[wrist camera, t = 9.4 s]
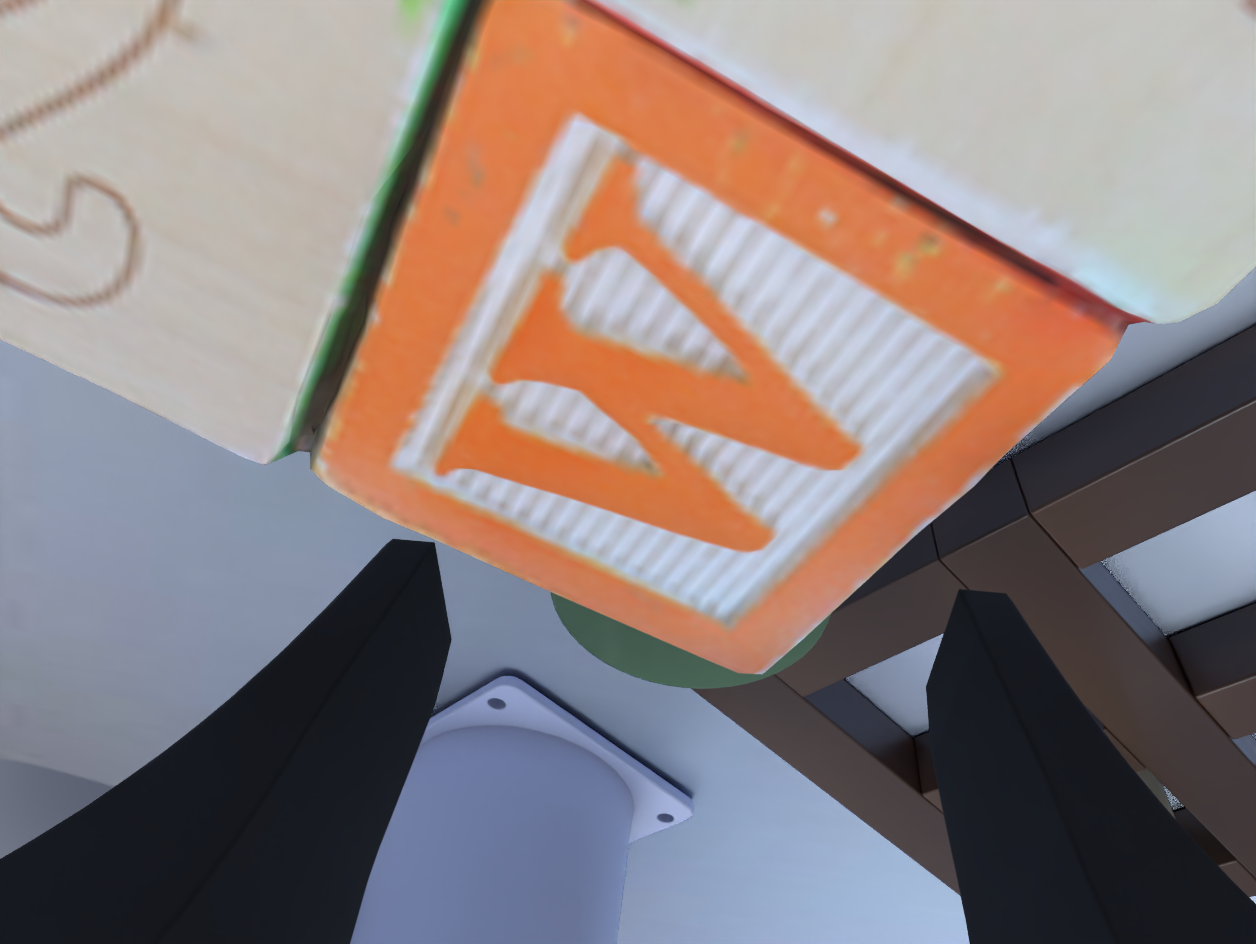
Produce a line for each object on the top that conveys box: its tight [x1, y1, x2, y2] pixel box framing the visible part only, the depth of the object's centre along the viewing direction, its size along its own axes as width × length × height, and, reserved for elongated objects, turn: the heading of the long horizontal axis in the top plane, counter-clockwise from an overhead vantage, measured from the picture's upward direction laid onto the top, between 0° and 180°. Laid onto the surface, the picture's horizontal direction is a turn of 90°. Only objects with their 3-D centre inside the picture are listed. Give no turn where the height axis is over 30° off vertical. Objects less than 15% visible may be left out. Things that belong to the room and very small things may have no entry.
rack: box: [691, 325, 1256, 897], centre depth 22 cm, size 16×16×2 cm
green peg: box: [551, 592, 831, 689], centre depth 15 cm, size 4×4×7 cm
